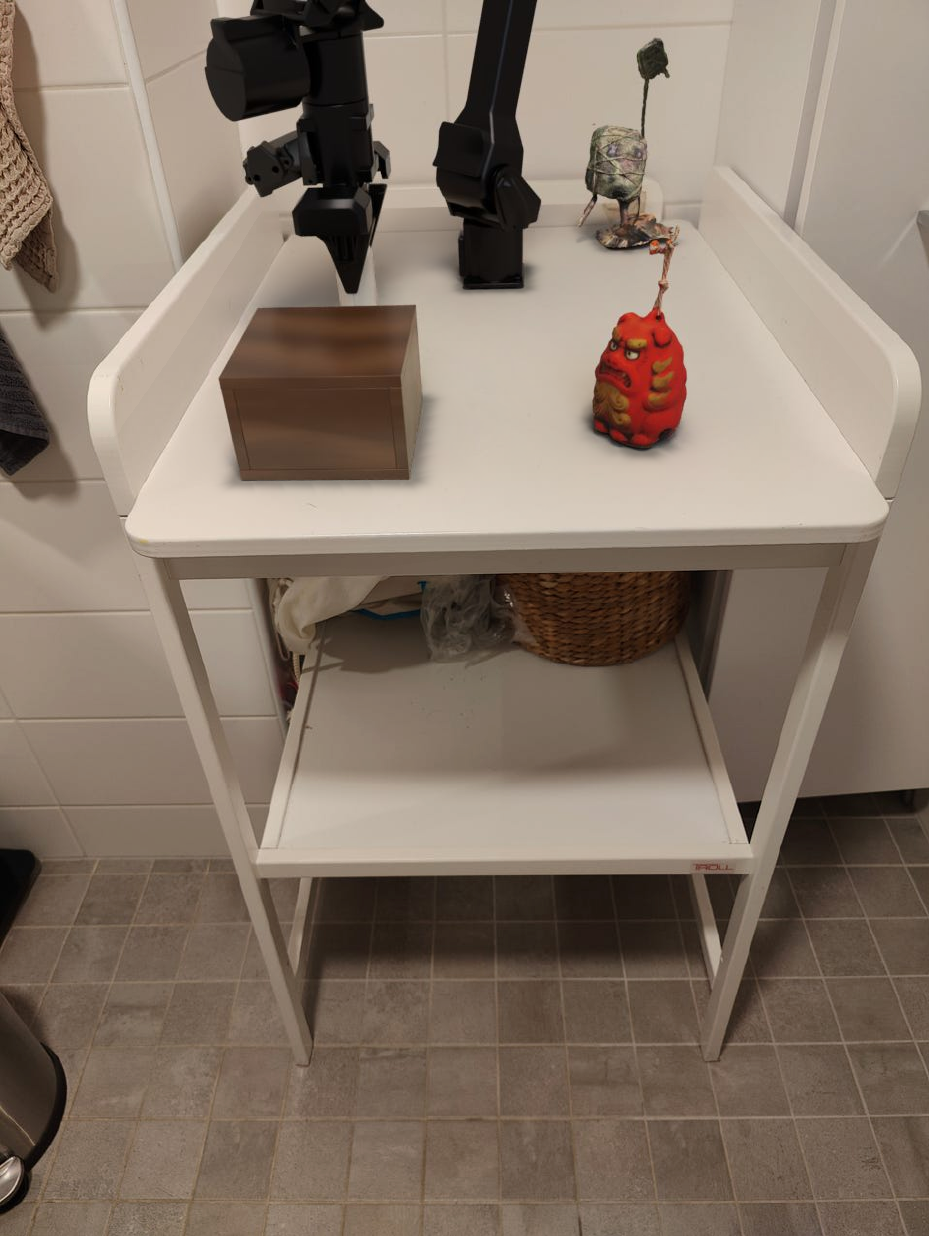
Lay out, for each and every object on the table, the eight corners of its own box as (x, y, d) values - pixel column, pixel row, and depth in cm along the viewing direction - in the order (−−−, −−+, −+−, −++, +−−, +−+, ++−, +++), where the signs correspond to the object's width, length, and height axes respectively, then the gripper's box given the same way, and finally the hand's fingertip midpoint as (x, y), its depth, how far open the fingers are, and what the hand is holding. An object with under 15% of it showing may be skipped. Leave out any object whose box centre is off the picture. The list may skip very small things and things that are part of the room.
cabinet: (275, 402, 79) (257, 307, 73) (422, 400, 78) (416, 304, 73) (240, 480, 69) (218, 378, 64) (409, 479, 68) (400, 375, 63)
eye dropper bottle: (333, 337, 89) (315, 208, 81) (346, 314, 93) (330, 189, 85) (377, 338, 88) (363, 208, 80) (388, 314, 92) (376, 189, 84)
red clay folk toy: (571, 425, 74) (580, 232, 64) (633, 398, 77) (650, 211, 67) (640, 462, 69) (660, 260, 59) (703, 432, 72) (732, 236, 62)
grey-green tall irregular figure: (574, 229, 111) (582, 36, 98) (668, 227, 110) (688, 33, 98) (578, 252, 105) (586, 49, 92) (677, 250, 104) (700, 45, 91)
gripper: (264, 76, 85) (292, 248, 95) (213, 128, 71) (251, 322, 81) (383, 73, 84) (398, 245, 94) (355, 124, 70) (376, 321, 80)
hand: (356, 280), depth 87 cm, fingers closed on eye dropper bottle, 5 cm apart
